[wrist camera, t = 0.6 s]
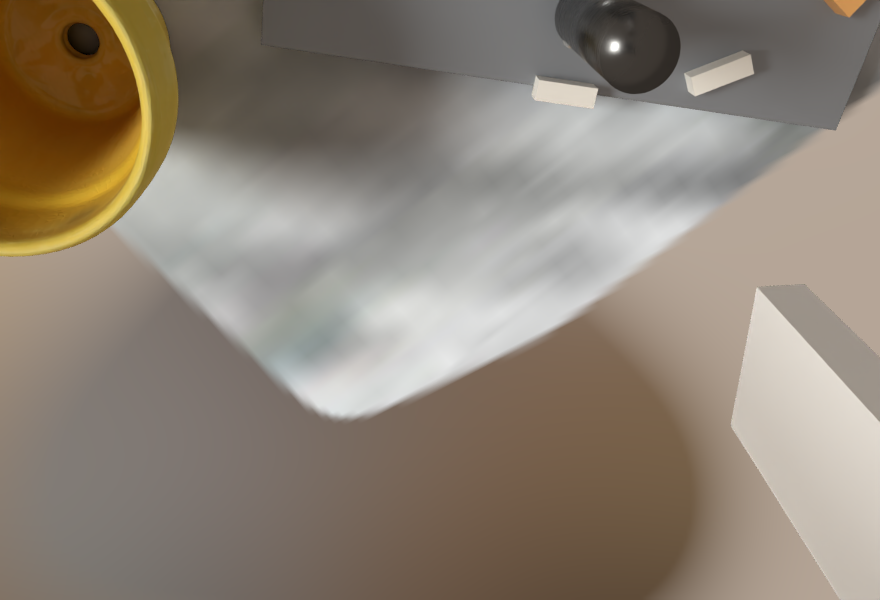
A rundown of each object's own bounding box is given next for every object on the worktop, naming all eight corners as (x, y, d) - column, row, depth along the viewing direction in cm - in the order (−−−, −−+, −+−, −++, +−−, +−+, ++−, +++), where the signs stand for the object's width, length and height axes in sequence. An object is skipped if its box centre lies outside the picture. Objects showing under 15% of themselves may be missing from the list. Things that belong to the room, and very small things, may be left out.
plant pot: (95, -173, 27) (-41, -197, 18) (271, 81, 32) (227, 157, 23) (-115, -13, 29) (-326, 33, 20) (79, 204, 34) (-27, 316, 25)
